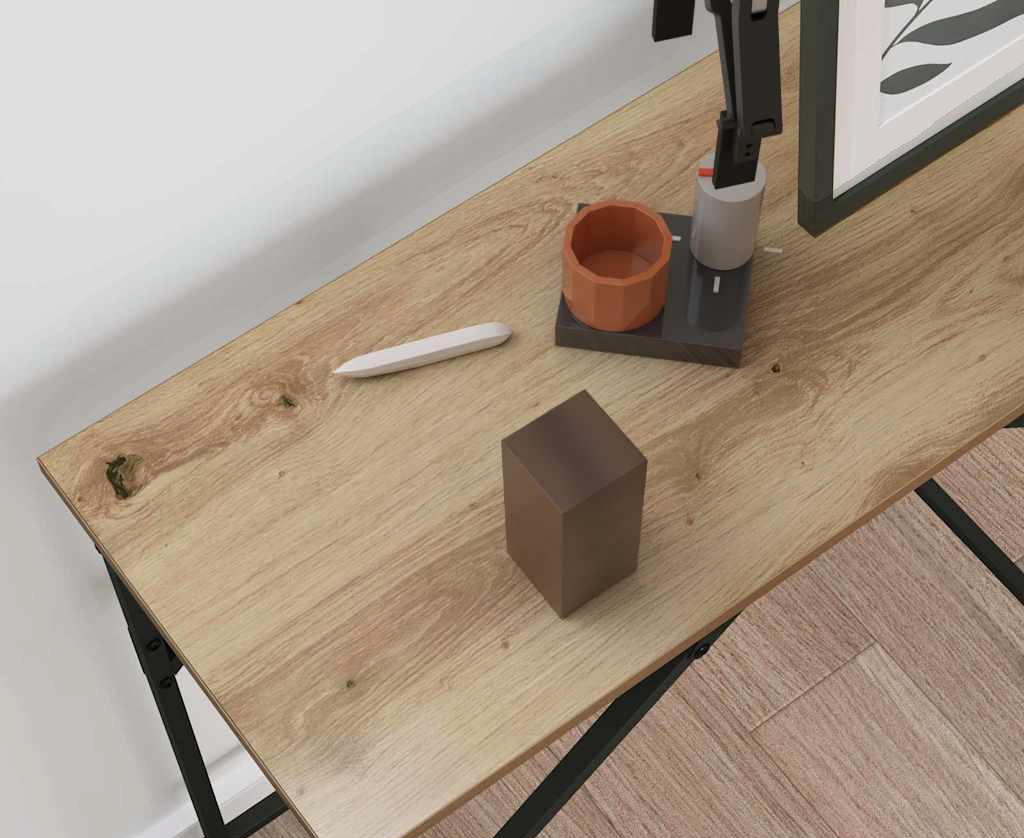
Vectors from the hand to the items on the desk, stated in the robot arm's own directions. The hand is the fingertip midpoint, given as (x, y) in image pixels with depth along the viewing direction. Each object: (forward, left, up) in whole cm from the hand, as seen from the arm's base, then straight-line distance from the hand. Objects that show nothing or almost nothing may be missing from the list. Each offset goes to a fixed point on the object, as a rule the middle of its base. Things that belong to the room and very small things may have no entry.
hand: (701, 106), depth 109 cm
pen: (+18, +10, -20) cm, 29 cm away
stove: (+1, 0, -19) cm, 19 cm away
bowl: (+5, +3, -17) cm, 18 cm away
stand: (+5, +25, -19) cm, 32 cm away
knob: (-3, -2, -17) cm, 17 cm away
